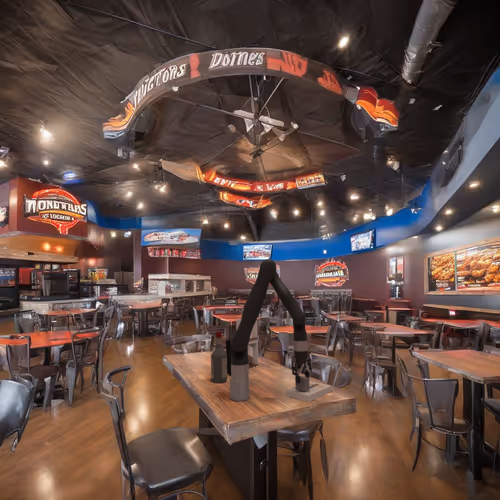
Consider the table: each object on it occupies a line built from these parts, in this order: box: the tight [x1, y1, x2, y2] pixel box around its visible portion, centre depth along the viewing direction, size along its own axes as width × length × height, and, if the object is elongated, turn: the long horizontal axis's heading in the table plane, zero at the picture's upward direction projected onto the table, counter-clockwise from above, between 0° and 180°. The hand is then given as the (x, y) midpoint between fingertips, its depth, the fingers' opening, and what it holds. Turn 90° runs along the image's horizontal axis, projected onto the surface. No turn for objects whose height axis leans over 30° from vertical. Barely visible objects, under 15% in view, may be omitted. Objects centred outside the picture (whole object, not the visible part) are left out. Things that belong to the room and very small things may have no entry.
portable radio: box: [225, 336, 231, 376], centre depth 210 cm, size 8×6×25 cm
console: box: [285, 380, 333, 403], centre depth 164 cm, size 22×14×3 cm, turn 135°
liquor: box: [210, 331, 228, 384], centre depth 194 cm, size 9×9×30 cm
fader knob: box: [294, 375, 310, 392], centre depth 161 cm, size 4×6×6 cm, turn 45°
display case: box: [235, 318, 259, 369], centre depth 229 cm, size 11×11×35 cm
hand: (302, 381), depth 161 cm, fingers open, 8 cm apart
